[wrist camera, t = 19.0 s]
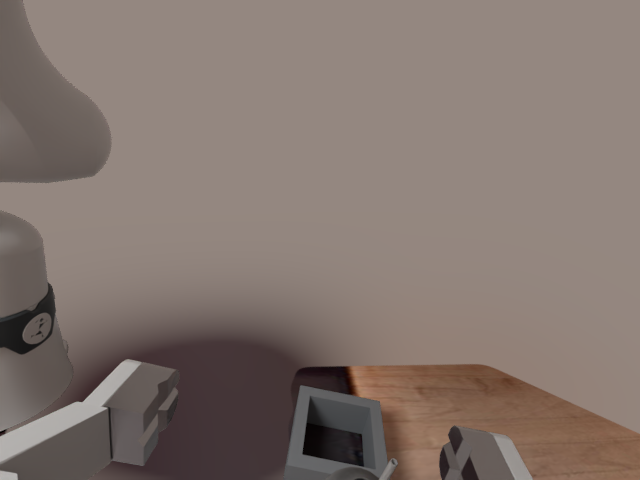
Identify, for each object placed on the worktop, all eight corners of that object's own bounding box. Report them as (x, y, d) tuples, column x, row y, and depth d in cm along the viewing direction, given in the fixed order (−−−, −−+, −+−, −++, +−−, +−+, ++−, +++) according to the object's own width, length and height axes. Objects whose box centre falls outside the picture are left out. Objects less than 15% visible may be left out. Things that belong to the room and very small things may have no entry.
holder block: (280, 495, 36) (287, 465, 35) (295, 411, 47) (300, 385, 46) (379, 515, 36) (390, 486, 35) (371, 426, 47) (379, 401, 45)
